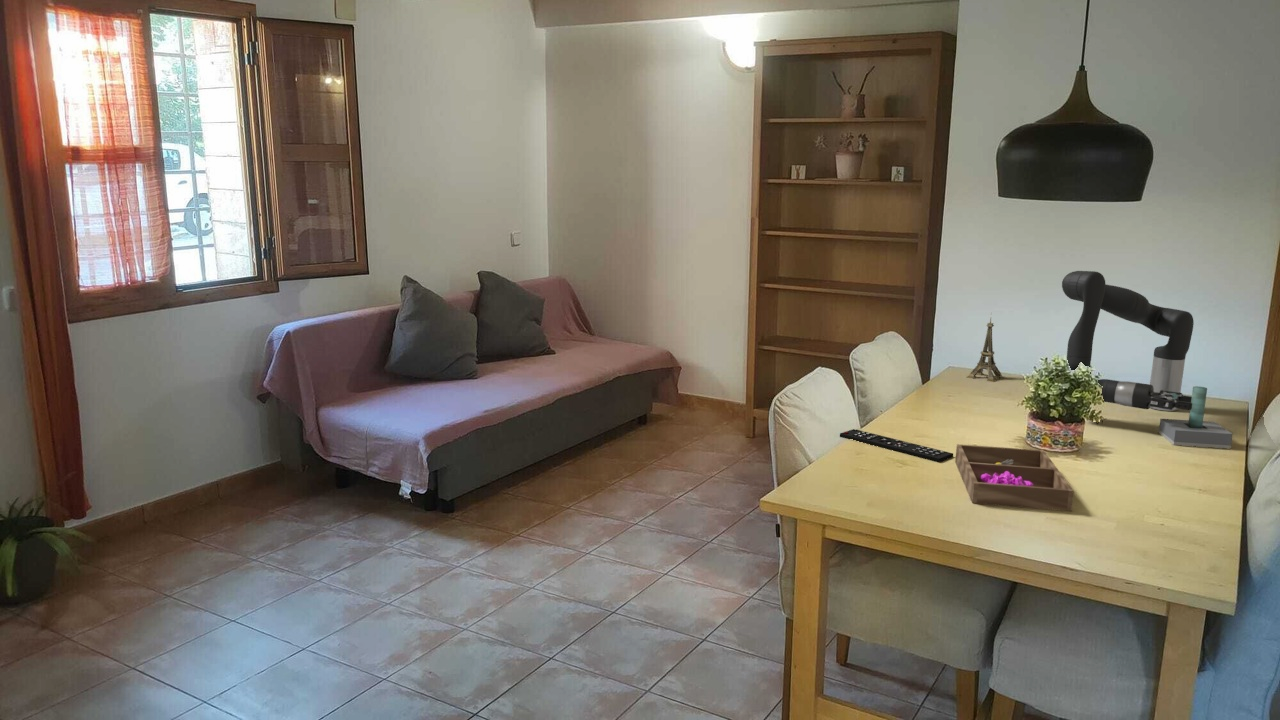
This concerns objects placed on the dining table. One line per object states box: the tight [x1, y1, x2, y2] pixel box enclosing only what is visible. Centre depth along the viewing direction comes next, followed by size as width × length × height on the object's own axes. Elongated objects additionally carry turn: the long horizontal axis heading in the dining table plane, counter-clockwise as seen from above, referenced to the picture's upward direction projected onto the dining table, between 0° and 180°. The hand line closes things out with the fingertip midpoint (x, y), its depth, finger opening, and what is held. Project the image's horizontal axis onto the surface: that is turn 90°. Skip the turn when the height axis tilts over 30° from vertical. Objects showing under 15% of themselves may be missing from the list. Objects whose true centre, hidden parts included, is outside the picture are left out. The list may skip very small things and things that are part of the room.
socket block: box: [1158, 418, 1233, 450], centre depth 276 cm, size 13×15×4 cm
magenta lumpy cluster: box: [981, 471, 1034, 486], centre depth 225 cm, size 12×10×7 cm
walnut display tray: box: [954, 443, 1075, 512], centre depth 234 cm, size 32×22×5 cm
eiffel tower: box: [966, 312, 1005, 383], centre depth 352 cm, size 11×11×25 cm
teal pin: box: [1188, 385, 1208, 428], centre depth 274 cm, size 4×4×15 cm
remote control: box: [839, 428, 954, 463], centre depth 265 cm, size 8×32×2 cm, turn 44°
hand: (1194, 404), depth 275 cm, fingers open, 8 cm apart
